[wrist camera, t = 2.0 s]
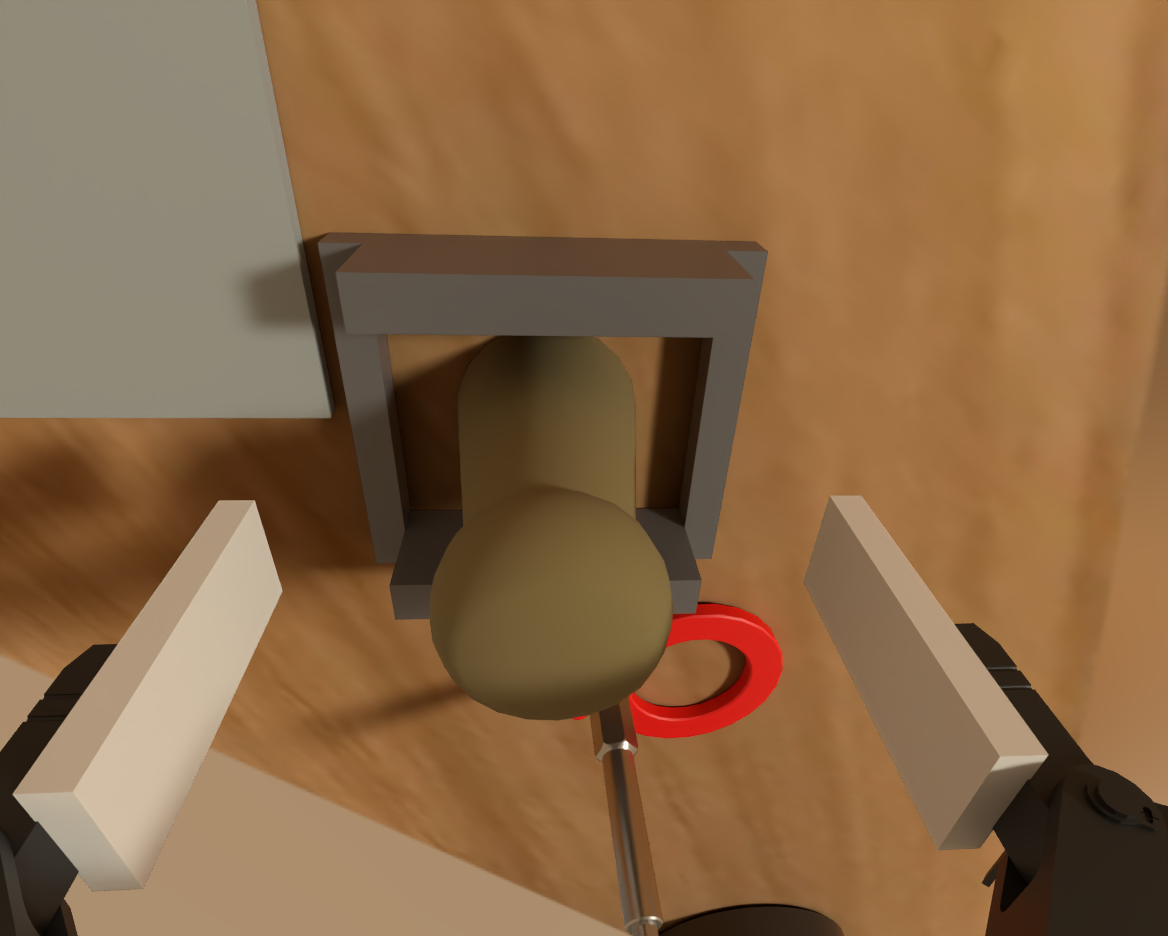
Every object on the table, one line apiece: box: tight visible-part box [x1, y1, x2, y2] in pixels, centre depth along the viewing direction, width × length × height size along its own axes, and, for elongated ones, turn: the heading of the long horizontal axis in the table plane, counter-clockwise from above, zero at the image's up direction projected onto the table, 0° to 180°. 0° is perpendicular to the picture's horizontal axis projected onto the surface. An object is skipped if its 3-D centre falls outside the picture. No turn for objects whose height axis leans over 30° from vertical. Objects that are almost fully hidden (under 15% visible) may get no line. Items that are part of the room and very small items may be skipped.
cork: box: [430, 335, 673, 720], centre depth 17 cm, size 6×6×11 cm
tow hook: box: [572, 604, 783, 936], centre depth 24 cm, size 8×13×9 cm
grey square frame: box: [318, 233, 768, 620], centre depth 20 cm, size 11×12×4 cm
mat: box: [0, 0, 335, 418], centre depth 17 cm, size 12×12×1 cm
